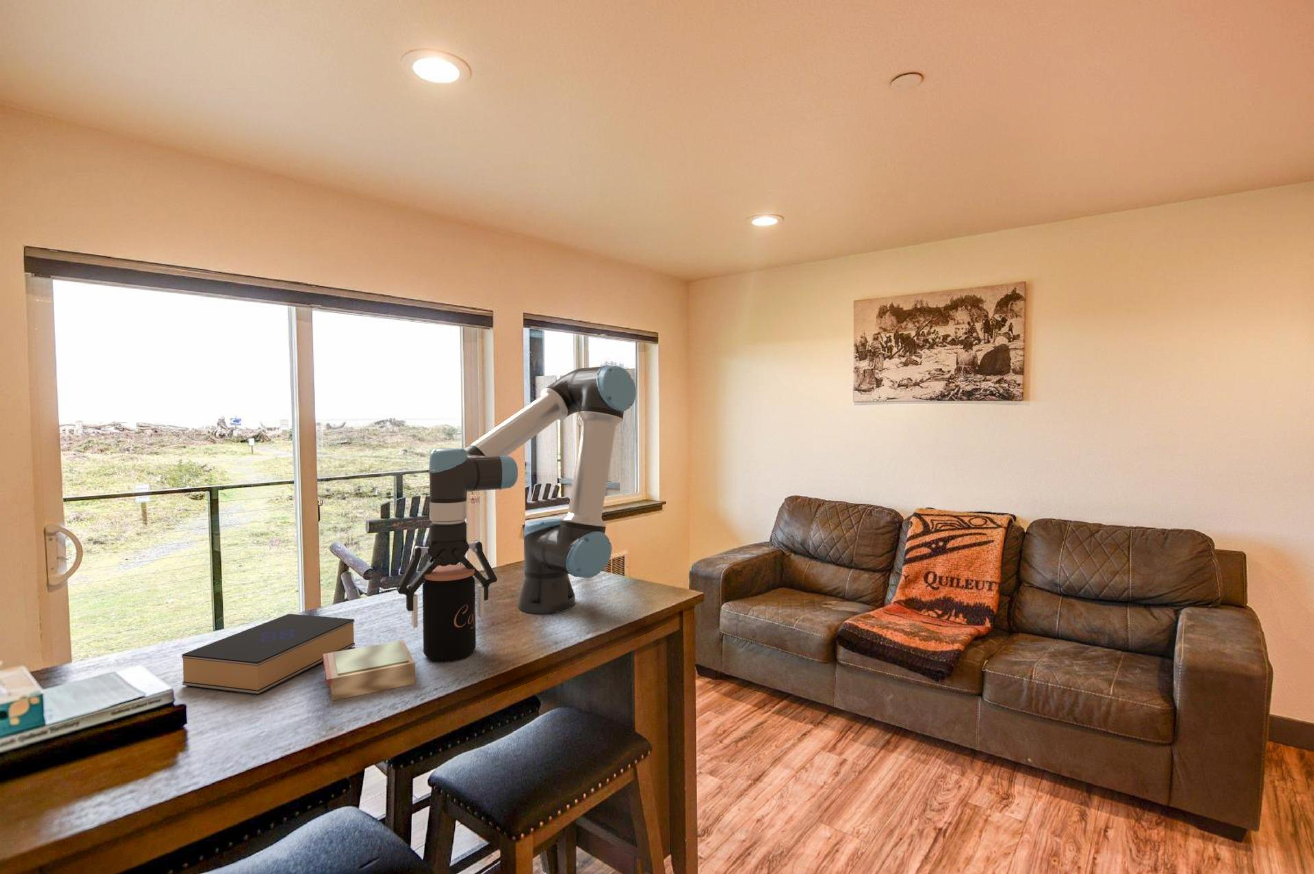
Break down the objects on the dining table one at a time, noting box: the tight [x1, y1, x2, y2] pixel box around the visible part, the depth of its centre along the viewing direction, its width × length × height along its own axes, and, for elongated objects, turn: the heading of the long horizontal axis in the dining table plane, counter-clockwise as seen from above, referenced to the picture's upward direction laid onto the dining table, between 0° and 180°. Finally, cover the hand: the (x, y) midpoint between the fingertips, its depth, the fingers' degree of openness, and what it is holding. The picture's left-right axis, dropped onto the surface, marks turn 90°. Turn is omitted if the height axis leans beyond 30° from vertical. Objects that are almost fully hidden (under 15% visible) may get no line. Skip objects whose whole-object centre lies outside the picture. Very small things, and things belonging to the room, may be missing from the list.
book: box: [181, 613, 356, 695], centre depth 127 cm, size 17×25×7 cm
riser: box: [322, 639, 416, 702], centre depth 120 cm, size 15×14×4 cm
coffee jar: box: [421, 564, 477, 663], centre depth 133 cm, size 11×11×18 cm
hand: (448, 620), depth 133 cm, fingers open, 13 cm apart
